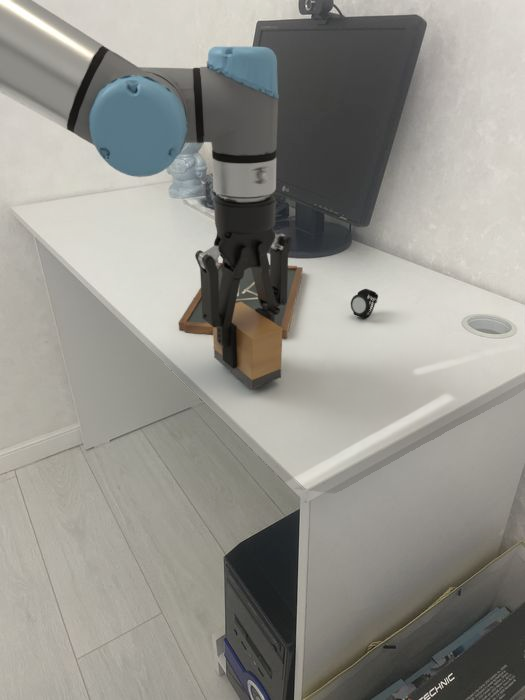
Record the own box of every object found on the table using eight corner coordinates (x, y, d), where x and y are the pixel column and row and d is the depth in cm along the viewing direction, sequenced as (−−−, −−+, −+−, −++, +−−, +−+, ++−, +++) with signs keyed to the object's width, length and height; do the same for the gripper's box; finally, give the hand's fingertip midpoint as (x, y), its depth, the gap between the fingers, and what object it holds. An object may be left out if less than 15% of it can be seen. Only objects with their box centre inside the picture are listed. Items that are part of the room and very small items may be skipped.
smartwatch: (346, 314, 92) (348, 289, 90) (371, 309, 94) (374, 284, 91) (358, 324, 89) (361, 298, 86) (384, 319, 91) (387, 293, 88)
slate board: (178, 332, 87) (177, 324, 86) (217, 268, 111) (217, 261, 110) (286, 340, 85) (286, 332, 84) (302, 273, 109) (302, 266, 108)
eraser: (214, 357, 78) (211, 310, 73) (241, 347, 80) (241, 301, 76) (252, 389, 71) (252, 338, 67) (281, 377, 73) (282, 328, 69)
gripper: (194, 214, 55) (205, 390, 67) (321, 189, 64) (311, 349, 76) (163, 198, 61) (178, 365, 73) (284, 178, 70) (280, 329, 82)
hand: (246, 356), depth 75 cm, fingers closed on eraser, 5 cm apart
